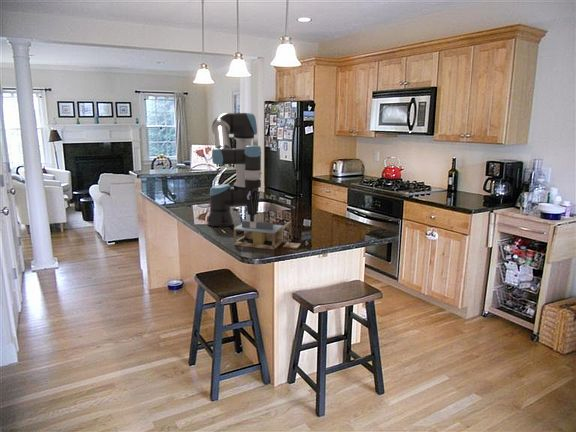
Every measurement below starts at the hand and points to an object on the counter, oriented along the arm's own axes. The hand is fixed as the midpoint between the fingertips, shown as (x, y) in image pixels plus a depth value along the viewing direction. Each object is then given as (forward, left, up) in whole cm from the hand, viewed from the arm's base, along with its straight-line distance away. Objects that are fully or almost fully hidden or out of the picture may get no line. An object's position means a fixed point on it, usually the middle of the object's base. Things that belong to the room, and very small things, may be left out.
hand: (252, 227), depth 209 cm
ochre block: (0, +8, -10) cm, 13 cm away
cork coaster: (+17, +10, -10) cm, 22 cm away
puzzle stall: (0, +15, -10) cm, 18 cm away
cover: (0, +8, -2) cm, 8 cm away
